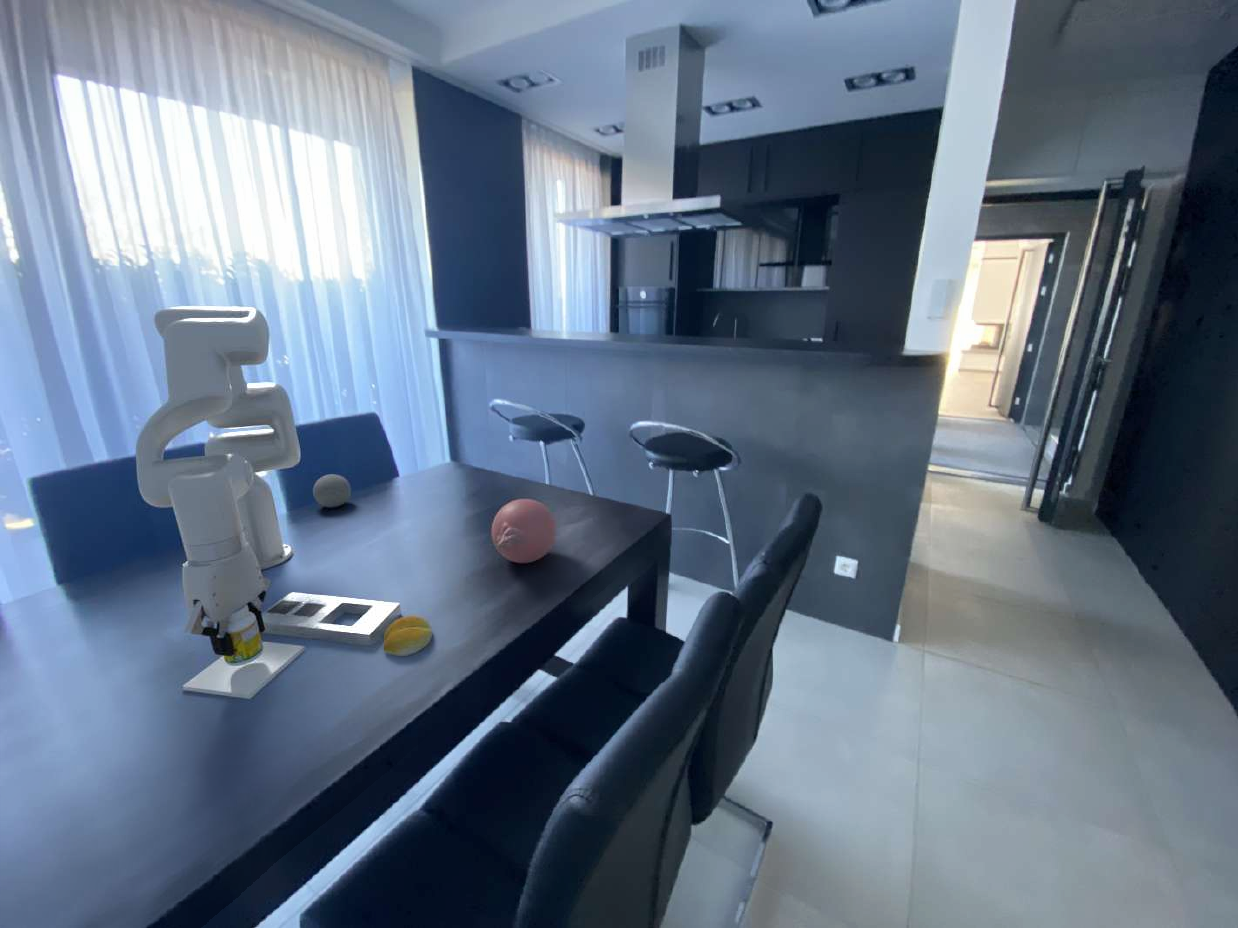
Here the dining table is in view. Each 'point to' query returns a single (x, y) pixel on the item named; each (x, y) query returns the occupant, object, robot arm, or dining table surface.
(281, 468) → the robot arm
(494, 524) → the balloon
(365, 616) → the grey board with squares
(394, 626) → the bread roll
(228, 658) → the supplement bottle
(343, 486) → the decorative ball
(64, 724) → the dining table surface
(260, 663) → the plate
